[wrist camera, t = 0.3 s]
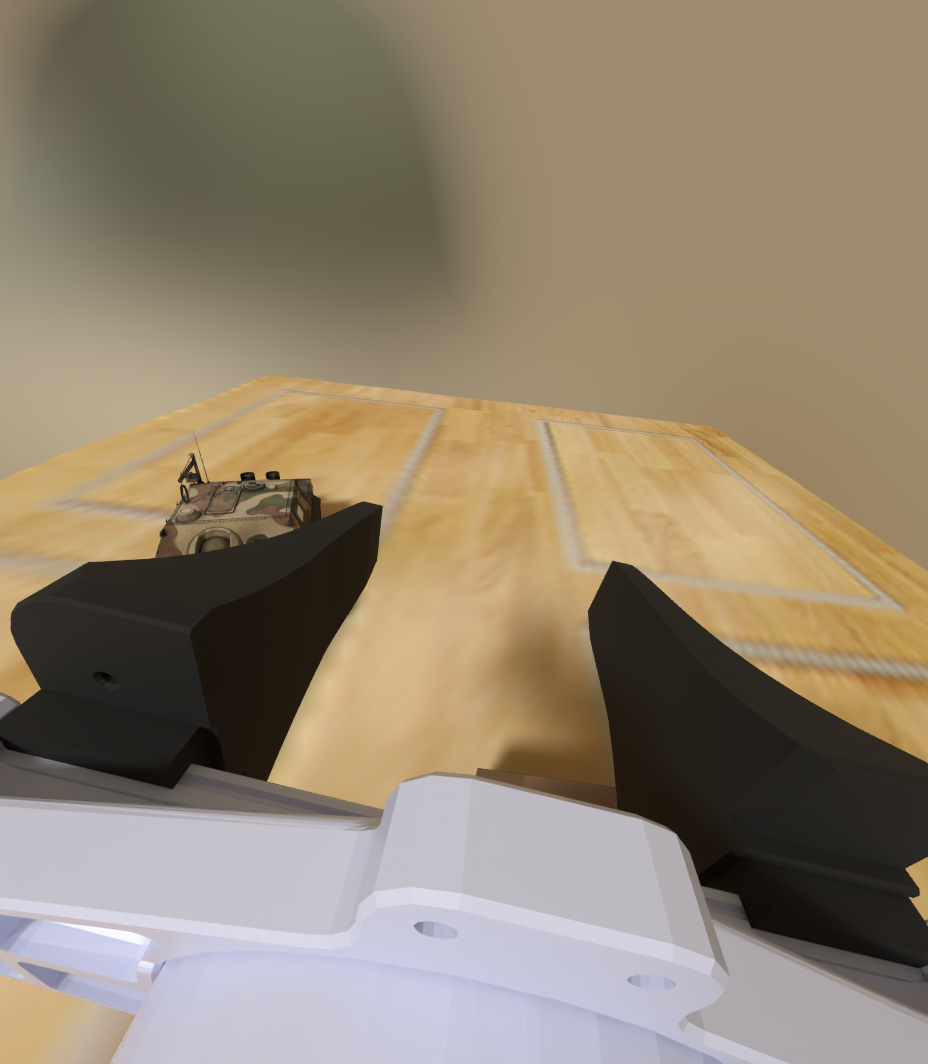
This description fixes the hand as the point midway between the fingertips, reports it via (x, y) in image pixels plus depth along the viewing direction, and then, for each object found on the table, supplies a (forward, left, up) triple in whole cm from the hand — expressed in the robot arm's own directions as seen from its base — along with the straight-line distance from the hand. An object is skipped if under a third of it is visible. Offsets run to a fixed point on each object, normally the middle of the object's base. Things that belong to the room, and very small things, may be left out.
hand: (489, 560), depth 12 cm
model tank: (+20, +23, -21) cm, 37 cm away
